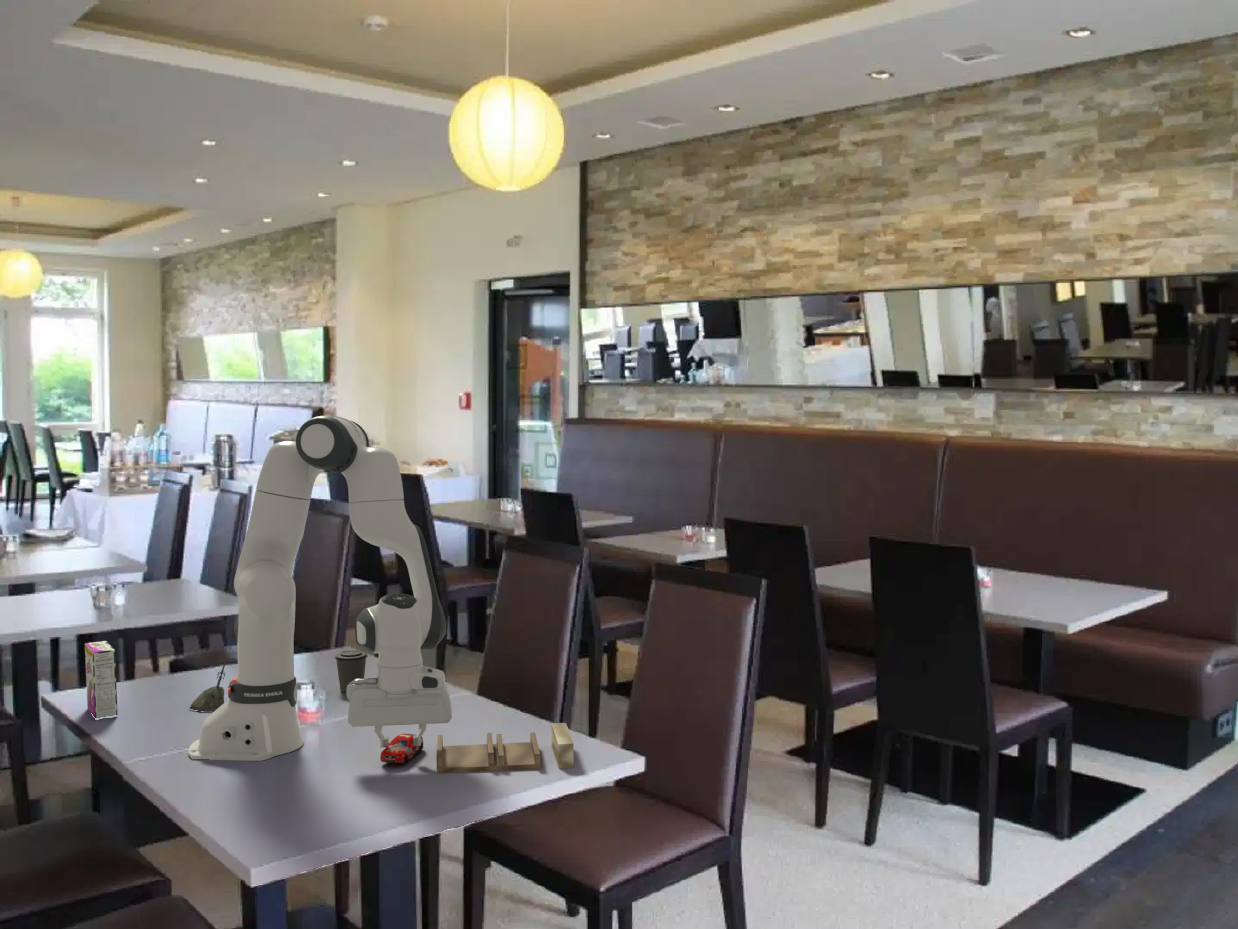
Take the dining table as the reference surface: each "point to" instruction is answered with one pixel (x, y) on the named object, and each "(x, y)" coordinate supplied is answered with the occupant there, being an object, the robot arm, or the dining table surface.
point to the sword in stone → (210, 696)
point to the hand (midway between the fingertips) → (400, 746)
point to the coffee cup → (350, 667)
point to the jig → (488, 756)
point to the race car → (400, 749)
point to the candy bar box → (101, 679)
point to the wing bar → (562, 745)
